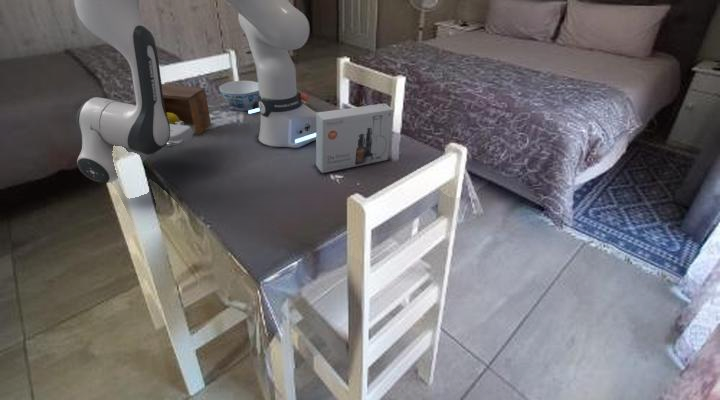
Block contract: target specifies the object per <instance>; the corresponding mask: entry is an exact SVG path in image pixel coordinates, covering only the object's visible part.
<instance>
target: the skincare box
mask: <svg viewBox="0 0 720 400" xmlns="http://www.w3.org/2000/svg"><path fill="white" fill-rule="evenodd" d="M394 110H395V109H394V108H393V107H391V106H390V105H388V104H387V103H378V104H369V105H363V106H356V107H348V108H342V109H341V108H339V109H333V110H326V111H318V112H316V140H315V148H316V149H315V155H316V156H315V158H316V159H315V166H316V168H317V169H318V170H319V171H320V172H321V173H322V174H326V173H331V172H335V171H339V170H344V169H349V168H354V167H359V166H364V165H370V164H375V163H379V162H383V161H388V160H389V153H390V144H391V135H392V127H393V120H394V119H393V118H394Z"/></svg>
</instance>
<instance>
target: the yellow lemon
mask: <svg viewBox="0 0 720 400" xmlns="http://www.w3.org/2000/svg"><path fill="white" fill-rule="evenodd" d="M166 114H167V118H168V121H169V124H175V122H176V121H180V119H179V118H178V116H176V115H175V114H173V113H166Z"/></svg>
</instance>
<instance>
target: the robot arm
mask: <svg viewBox="0 0 720 400" xmlns="http://www.w3.org/2000/svg"><path fill="white" fill-rule="evenodd" d="M223 1H224V2H225V3H226V4H227V5H228V6H229V7H230V8H232V9H233V10H234V11H236V13H238V14H237V15H238V18H237V19H238V24H239V27H240V28H241V29H242V31H243V33H244V35H245V37H246V40H247V43H248V45H249V49H250V51H251V55H252V59H253V61H254V65H255V70H256V78H257V83H258V87H259V94H258V101H257V102H258V107H257V108H254V109H253V108H252V109H250V110H247V111H248V115H249V114H254V113H257V112H259V113H260V125H259V133H258V141H259V142H260V143H261V144H263V145H266V146H269V147H274V148H275V147H277V148H285V147H286V148H292V149H293V148H294V149H298V148H301V147H303V146H305V145H307V144H309V143H312V142H314V141H316V113H317V112H316V111H315V110H313V109H312V108H310V107H309V106H308V105H307V104H306V105H304V104H303V103H302V101H301V100H303V101H307V102H308V101H309V99H310V97H309V95H308V94H305V93H301V92H299V91H298V90H297V88H298V87H297V70H296V65H295V64H294V61H293V60H292V59H291V57H290V54H289V52H288V51H293V50H294V51H295V50H299V49H301V48H302V47H304V45H305V44H306V43H307V41H308V39H309V36H310V29H311V28H310V22H309V20H308V18H307V17H306V15H305V14H304V13H303V12H301V11H300V10H299V9H298V8H296V7H295V6H294V5H293V4H292V3H291V2H290V1H289V0H223ZM73 3H74V8H75V12H76V16H77V18H78V19H79V20H80V22H81V23H82V24H83V25H84V27H85V28H86V29H87V30H88V31H89V32H90V33H92V34H93V35H94V36H95V37H97V38H98V39H100V40H102V42H105V43H106V44H108V45H109V46H111V47H113V49H115V50H116V51H117V52H119V53H120V54H121V55H122V56H123V57H124V58H125V60H126V62H127V63H128V65H129V67H130V70H131V76H132V83H133V84H132V85H133V91H134V97H135V104H132V103H126V102H122V101H119V100H114V99H109V98H105V97H99V96H94V97H93V96H92V97H90V98H89V99H86V100H85V101H84V102H83V103H82V104H81V106H80V107H79V109H78V111H77V113H76V116H75V121H76V126H77V129H78V132H79V134H80V137H81V150H80V153H79V155H78V157H77V160H76V165H77V167H78V169H79V171H80V172H81V173H82V175H84V176H85V177H86V178H88V179H89V180H91V181H93V182H97V183H100V184H109V183H112V182H115V181H117V180H119V179H118V176H117V173H116V170H115V166H114V162H113V156H112V153H113V152H112V151H113V146H114V145H115V146H122V147H124V148H126V150H127V151H128V152H134V153H137V154H139V155H140V157H141V159H142V163H144V162H145V161H146V160H148V159H149V158H150V157H152V155H154V154H156V153H157V152H158V151H160V150H161V149H163V148H166V149H178V148H181V147H183V146H185V145H187V144H188V143H189V142H191V141H193V139H194V134H193V133H194V132H193V130H192V127H191V126H190V125H185V123H184V122H183V121H176V122H175V124H169V121H168V118H167V114H166V111H165V106H164V99H163V92H162V84H163V83H162V78H161V69H160V63H159V56H158V49H157V44H156V41H155V37H154V35H153V33H152V32H151V31H150V30H149V29H148V28H147V27H146V25H145V23H144V21H143V18H142V13H141V10H140V0H73Z"/></svg>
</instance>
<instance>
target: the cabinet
mask: <svg viewBox="0 0 720 400" xmlns="http://www.w3.org/2000/svg"><path fill="white" fill-rule="evenodd" d="M161 84H162V92H163V99H164V106H165V111H166V113H173V114H175V115H176V116H178V118H179V119H180V121H183V122H184V124H187V125H193V127H194V132H195V135H196V136H200V134H202V133H203V132H205V130H207V129H208V128H209V127H211V126H212V121H211V116H210V110H209V107H208V106H209V105H208V99H207V94H206V89H205V87H201V86H190V85H178V84H166V83H161Z"/></svg>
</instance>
